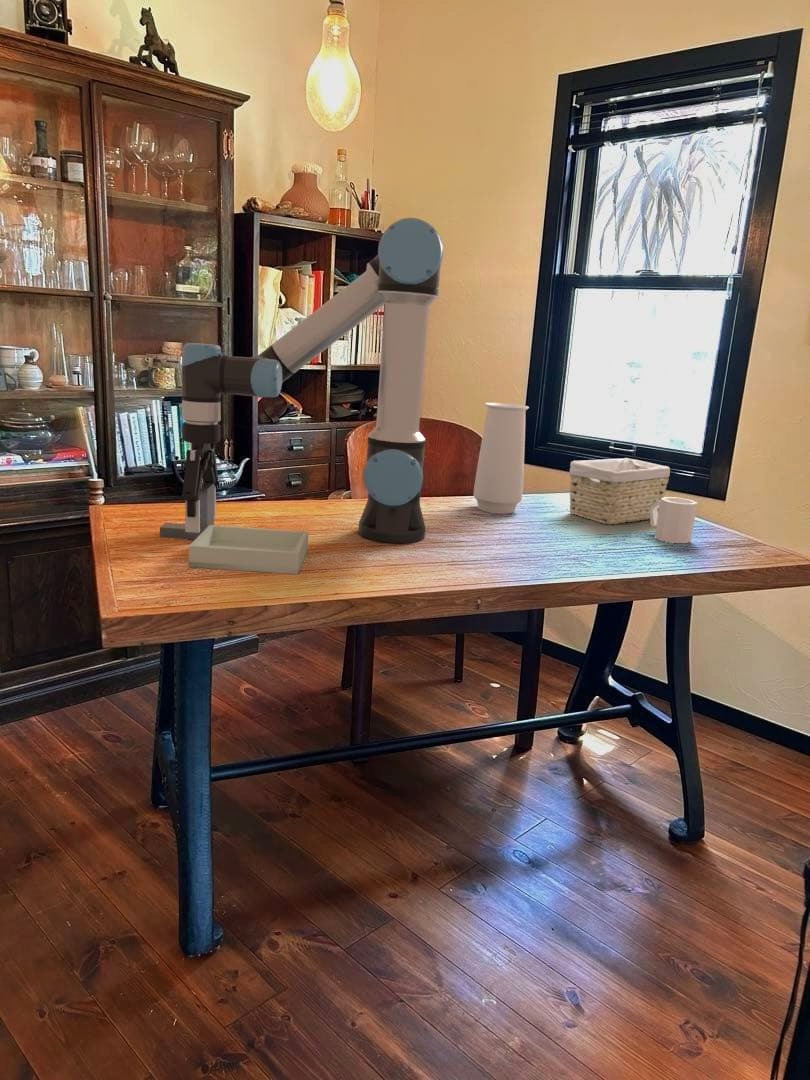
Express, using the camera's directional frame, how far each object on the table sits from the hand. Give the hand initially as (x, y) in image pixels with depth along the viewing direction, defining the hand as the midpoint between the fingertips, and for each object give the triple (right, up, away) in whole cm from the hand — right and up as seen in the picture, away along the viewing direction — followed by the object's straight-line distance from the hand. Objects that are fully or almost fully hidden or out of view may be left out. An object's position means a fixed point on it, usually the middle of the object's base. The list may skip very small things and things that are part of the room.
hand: (201, 523), depth 161 cm
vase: (+67, +5, +47) cm, 82 cm away
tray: (+13, -7, -12) cm, 19 cm away
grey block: (-3, -2, +1) cm, 4 cm away
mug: (+107, -3, +30) cm, 111 cm away
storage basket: (+100, +3, +49) cm, 111 cm away
